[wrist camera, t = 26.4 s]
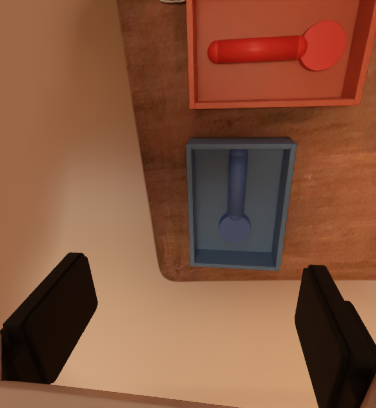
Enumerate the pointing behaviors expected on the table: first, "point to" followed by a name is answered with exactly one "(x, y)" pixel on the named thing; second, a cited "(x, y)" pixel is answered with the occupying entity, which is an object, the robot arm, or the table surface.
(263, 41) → the red spoon
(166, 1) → the toy car
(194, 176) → the blue bin
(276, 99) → the red bin
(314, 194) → the table surface
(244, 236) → the blue spoon
